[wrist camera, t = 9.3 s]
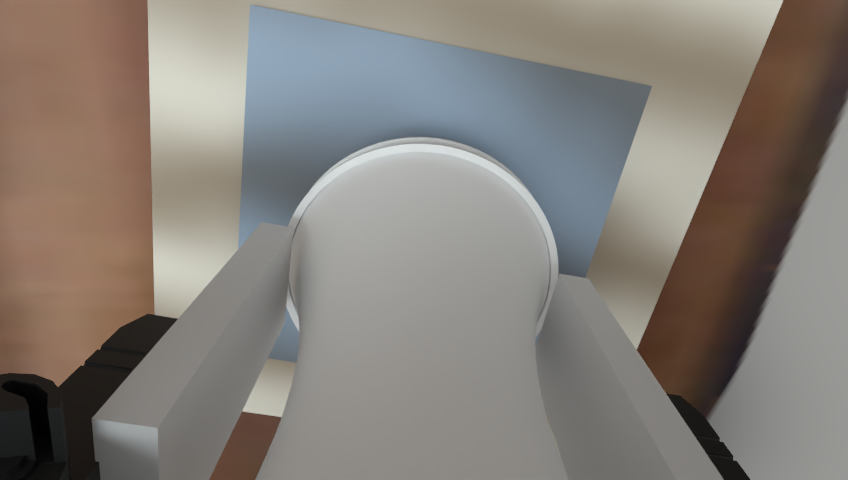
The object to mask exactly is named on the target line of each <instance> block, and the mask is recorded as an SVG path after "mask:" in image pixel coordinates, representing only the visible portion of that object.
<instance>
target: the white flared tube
mask: <svg viewBox="0 0 848 480" xmlns="http://www.w3.org/2000/svg"><path fill="white" fill-rule="evenodd" d="M288 227H293V238H292V249H291V260H290V270H289V281H288V292H287V302H286V307H287V310H288V312H289V314H290V317H291V319H292V321H293V323H294V324H295V326H296V328H297V329H298V331H299V349H298V356H297V362H296V368H295V373H294V377H293V381H292V385H291V389H290V392H289V396H288V399H287V402H286V405H285V409H284V412H283V415H282V418H281V420H280V423H279V426H278V428H277V431H276V434H275V436H274V438H273V441H272V443H271V445H270V448H269V450H268V452H267V455H266V457H265V459H264V462H263V464H262V466H261V468H260V471H259V473H258V475H257V477H256V479H255V480H569V479H568V476H567V473H566V471H565V468H564V465H563V463H562V460H561V457H560V454H559V452H558V449H557V446H556V444H555V441H554V438H553V435H552V432H551V428H550V425H549V422H548V418H547V414H546V411H545V407H544V403H543V399H542V395H541V390H540V385H539V379H538V372H537V364H536V352H535V340H536V337H537V335H538V334H539V332H540V331H541V329H542V326H543V323H544V320H545V316H546V313H547V310H548V307H549V304H550V301H551V298H552V295H553V292H554V289H555V286H556V283H557V280H558V255H557V248H556V244H555V240H554V236H553V233H552V230H551V228H550V225H549V223H548V221H547V219H546V217H545V215H544V213H543V211H542V210H541V208H540V206H539V205H538V203H537V202H536V201H535V199H534V198H533V196H532V195H531V193H530V192H529V190H528V189H527V188H526V186H525V185H524V184H523V183H522V182H521V180H520V179H519V178H518V177H517V176H516V175H515V174H514V173H513V172H512V171H510V170H509V169H508V168H507V167H505V166H504V165H503V164H502V163H500V162H499V161H497V160H496V159H494V158H493V157H491V156H489V155H487V154H486V153H484V152H482V151H480V150H478V149H475V148H473V147H470V146H468V145H465V144H462V143H458V142H455V141H451V140H446V139H440V138H431V137H406V138H398V139H391V140H387V141H383V142H379V143H376V144H373V145H370V146H367V147H365V148H362V149H360V150H358V151H356V152H354V153H352V154H350V155H349V156H347V157H345V158H344V159H342V160H340V161H339V162H338V163H336V164H335V165H334V166H332V167H331V168H330V169H329V170H328V171H327V172H326V173H324V174H323V175H322V176H321V177H320V179H319V180H318V181H317V182H316V183H315V184H314V185H313V187H312V188H311V189H310V191H309V192H308V193H307V195H306V196H305V197H304V198H303V200H302V201H301V203H300V204H299V206H298V207H297V209H296V210H295V212H294V214H293V216H292V218H291V220H290V222H289V225H288ZM548 286H549V287H548ZM547 291H548V292H547ZM291 293H292V294H291ZM544 302H545V303H544ZM297 306H298V307H297Z"/></svg>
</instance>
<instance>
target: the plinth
mask: <svg viewBox="0 0 848 480" xmlns="http://www.w3.org/2000/svg"><path fill="white" fill-rule="evenodd" d="M782 2H783V0H148V37H149V82H150V127H151V171H152V216H153V261H154V305H155V315H158V316H164V317H171V318H177V319H178V318H179V317H180V316H181V315H182V314H183V313H184V311H185V310H186V309H187V308H188V307H189V306H190V304H191V303H192V302H193V301H194V300H195V299H196V298H197V296H198V295H199V294H200V293H201V292H202V291H203V289H204V288H205V287H206V286H207V285H208V284H209V283H210V281H211V280H212V279H213V278H214V277H215V276H216V274H217V273H218V272H219V271H220V270H221V269H222V268H223V266H224V265H225V264H226V263H227V262H228V261H229V259H230V258H231V257H232V256H233V255H234V254H235V253H236V251H237V250H238V249H239V248H240V247H241V246H242V244H243V243H244V242H245V241H246V240H247V239H248V238H249V236H250V235H251V234H252V233H253V232H254V231H255V229H256V228H257V227H258V226H259V225H260V224H261V223H262V222H264V223H270V224H275V225H281V226H287V227H288V225H289V222H290V220H291V218H292V216H293V214H294V212H295V210H296V209H297V207H298V206H299V204H300V203H301V201H302V200H303V198H304V197H305V196H306V195H307V193H308V192H309V191H310V189H311V188H312V187H313V185H314V184H315V183H316V182H317V181H318V180H319V179H320V177H321V176H322V175H323V174H324V173H326V172H327V171H328V170H329V169H330V168H331V167H332V166H334V165H335V164H336V163H338V162H339V161H340V160H342V159H344V158H345V157H347V156H349V155H350V154H352V153H354V152H356V151H358V150H360V149H362V148H365V147H367V146H370V145H373V144H376V143H379V142H383V141H387V140H391V139H398V138H406V137H431V138H440V139H446V140H451V141H455V142H458V143H462V144H465V145H468V146H470V147H473V148H475V149H478V150H480V151H482V152H484V153H486V154H487V155H489V156H491V157H493V158H494V159H496V160H497V161H499V162H500V163H502V164H503V165H504V166H505V167H507V168H508V169H509V170H510V171H512V172H513V173H514V174H515V175H516V176H517V177H518V178H519V179H520V180H521V182H522V183H523V184H524V185H525V186H526V188H527V189H528V190H529V192H530V193H531V195H532V196H533V198H534V199H535V201H536V202H537V203H538V205H539V206H540V208H541V210H542V211H543V213H544V215H545V217H546V219H547V221H548V223H549V225H550V228H551V230H552V233H553V236H554V240H555V244H556V248H557V255H558V277H559V274H565V275H571V276H576V277H582V278H588V279H589V280H590V281H591V283H592V284H593V286H594V287H595V289H596V290H597V292H598V293H599V295H600V296H601V298H602V299H603V301H604V302H605V304H606V305H607V307H608V308H609V310H610V311H611V313H612V314H613V316H614V317H615V319H616V320H617V322H618V323H619V325H620V326H621V328H622V329H623V330H624V332H625V333H626V335H627V336H628V338H629V339H630V341H631V342H632V344H633V345H634V347H635V348H636V350H637V348H638V346H639V343H640V341H641V339H642V336H643V334H644V331H645V329H646V327H647V324H648V322H649V319H650V317H651V315H652V312H653V310H654V308H655V305H656V303H657V300H658V298H659V296H660V293H661V291H662V288H663V286H664V284H665V281H666V279H667V277H668V274H669V272H670V269H671V267H672V265H673V262H674V260H675V257H676V255H677V253H678V250H679V248H680V245H681V243H682V241H683V238H684V236H685V234H686V231H687V229H688V226H689V224H690V222H691V219H692V217H693V214H694V212H695V210H696V207H697V205H698V203H699V200H700V198H701V195H702V193H703V191H704V188H705V186H706V183H707V181H708V179H709V176H710V174H711V172H712V169H713V167H714V164H715V162H716V160H717V157H718V155H719V152H720V150H721V148H722V145H723V143H724V141H725V138H726V136H727V133H728V131H729V129H730V126H731V124H732V121H733V119H734V117H735V114H736V112H737V110H738V107H739V105H740V102H741V100H742V98H743V95H744V93H745V90H746V88H747V86H748V83H749V81H750V79H751V76H752V74H753V71H754V69H755V67H756V64H757V62H758V59H759V57H760V55H761V52H762V50H763V47H764V45H765V43H766V40H767V38H768V36H769V33H770V31H771V28H772V26H773V24H774V21H775V19H776V16H777V14H778V12H779V9H780V7H781V5H782ZM548 287H549V286H548ZM547 292H548V291H547ZM291 294H292V293H291ZM544 303H545V302H544ZM297 307H298V306H297ZM540 332H541V331H540ZM540 332H539V334H538V335H537V337H536V340H535V347H536V344H537V341H538V338H539V335H540ZM298 349H299V331H298V329H297V328H296V326H295V324H294V323H293V321H292V319H291V317H290V314H289V312H288V310H287V307H286V313H285V323H284V326H283V328H282V330H281V332H280V334H279V336H278V338H277V340H276V342H275V344H274V346H273V348H272V350H271V352H270V354H269V357H268V359H267V361H266V363H265V365H264V367H263V369H262V371H261V373H260V375H259V377H258V379H257V381H256V383H255V385H254V388H253V390H252V392H251V394H250V396H249V398H248V400H247V402H246V404H245V406H244V408H243V410H242V411H244V412H251V413H258V414H264V415H271V416H278V417H282V415H283V412H284V409H285V405H286V402H287V399H288V396H289V392H290V389H291V385H292V381H293V377H294V373H295V368H296V362H297V356H298ZM544 407H545V406H544ZM545 411H546V409H545ZM546 414H547V412H546ZM547 418H548V415H547ZM548 422H549V425H550V428H551V432H552V435H553V438H554V441H555V444H556V446H557V443H556V440H555V437H554V434H553V431H552V427H551V424H550V421H549V418H548ZM557 449H558V446H557ZM558 452H559V449H558ZM559 454H560V452H559ZM560 457H561V455H560Z"/></svg>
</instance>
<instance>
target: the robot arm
mask: <svg viewBox="0 0 848 480" xmlns="http://www.w3.org/2000/svg"><path fill="white" fill-rule="evenodd" d="M292 238H293V227H287V226H281V225H275V224H270V223H264V222H262V223H261V224H260V225H259V226H258V227H257V228H256V229H255V231H254V232H253V233H252V234H251V235H250V236H249V238H248V239H247V240H246V241H245V242H244V243H243V244H242V246H241V247H240V248H239V249H238V250H237V251H236V253H235V254H234V255H233V256H232V257H231V258H230V259H229V261H228V262H227V263H226V264H225V265H224V266H223V268H222V269H221V270H220V271H219V272H218V273H217V274H216V276H215V277H214V278H213V279H212V280H211V281H210V283H209V284H208V285H207V286H206V287H205V288H204V289H203V291H202V292H201V293H200V294H199V295H198V296H197V298H196V299H195V300H194V301H193V302H192V303H191V304H190V306H189V307H188V308H187V309H186V310H185V311H184V313H183V314H182V315H181V316H180V317H179V318H178V319H177V318H171V317H164V316H158V315H152V314H147V315H145V316H143V317H141V318H139V319H137V320H135V321H132V322H130V323H128V324H126V325H124V326H122V327H120V328H119V329H118V330H117V331H116V332H115V333H114V334H113V335H112V336H111V337H110V338H109V339H108V340H107V341H106V342H105V343H104V344H103V345H102V346H101V349H100V350H96V351H95V352H94V353H93V354H92V355H91V356H90V357H89V358H88V359H87V360H86V361H85V364H84V366H80V367H79V368H78V369H77V370H76V371H75V372H74V373H73V374H72V375H71V376H69V377H68V378H67V379H66V380H65V381H64V382H63V383H62V384H61V385H60V386H59V387H57V386H56V385H55V383H54V382H53V381H51V380H48V379H46V378H43V377H40V376H37V375H35V374H16V373H8V374H1V375H0V480H209V479H210V476H211V474H212V472H213V470H214V468H215V466H216V464H217V462H218V460H219V458H220V456H221V454H222V452H223V450H224V448H225V445H226V443H227V441H228V439H229V437H230V435H231V433H232V431H233V429H234V427H235V425H236V423H237V421H238V419H239V417H240V414H241V412H242V410H243V408H244V406H245V404H246V402H247V400H248V398H249V396H250V394H251V392H252V390H253V388H254V385H255V383H256V381H257V379H258V377H259V375H260V373H261V371H262V369H263V367H264V365H265V363H266V361H267V359H268V357H269V354H270V352H271V350H272V348H273V346H274V344H275V342H276V340H277V338H278V336H279V334H280V332H281V330H282V328H283V326H284V323H285V313H286V302H287V292H288V281H289V270H290V260H291V249H292ZM535 352H536V364H537V372H538V379H539V385H540V390H541V395H542V399H543V403H544V406H545V409H546V412H547V415H548V418H549V421H550V424H551V427H552V431H553V434H554V437H555V440H556V443H557V446H558V449H559V452H560V455H561V458H562V462H563V465H564V468H565V471H566V473H567V476H568V479H569V480H750V479H749V477H748V476H747V475H746V473H745V472H744V470H743V469H742V468H741V466H740V465H739V464H738V462H737V461H733V455H732V454H731V453H730V451H729V450H728V449H727V447H726V446H725V444H724V443H723V442H720V441H719V439H720V438H719V437H718V435H717V434H716V432H715V431H714V430H713V428H712V427H711V425H710V424H709V423H708V421H707V420H706V418H705V417H704V416H703V415H702V414H701V413H700V412H698V411H697V410H696V409H695V408H694V407H693V406H691V405H690V404H689V403H688V402H687V401H686V400H684V399H683V398H682V397H681V396H678V395H672V394H666V393H665V391H664V390H663V388H662V387H661V385H660V384H659V383H658V381H657V380H656V378H655V377H654V375H653V374H652V372H651V371H650V369H649V368H648V366H647V365H646V363H645V362H644V360H643V359H642V357H641V356H640V354H639V353H638V351H637V350H636V348H635V347H634V345H633V344H632V342H631V341H630V339H629V338H628V336H627V335H626V333H625V332H624V330H623V329H622V328H621V326H620V325H619V323H618V322H617V320H616V319H615V317H614V316H613V314H612V313H611V311H610V310H609V308H608V307H607V305H606V304H605V302H604V301H603V299H602V298H601V296H600V295H599V293H598V292H597V290H596V289H595V287H594V286H593V284H592V283H591V281H590V280H589V279H588V278H582V277H576V276H571V275H565V274H559V277H558V280H557V283H556V286H555V289H554V292H553V295H552V298H551V301H550V304H549V307H548V310H547V313H546V316H545V320H544V323H543V326H542V329H541V332H540V335H539V338H538V341H537V344H536V347H535Z"/></svg>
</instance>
